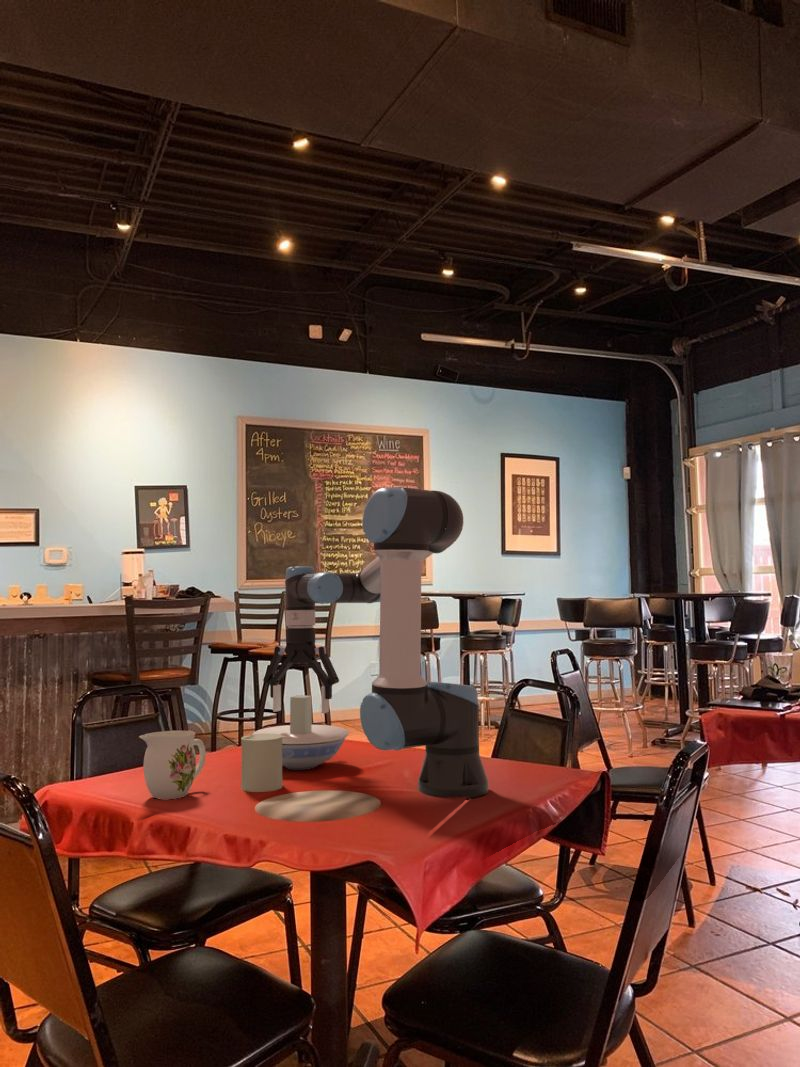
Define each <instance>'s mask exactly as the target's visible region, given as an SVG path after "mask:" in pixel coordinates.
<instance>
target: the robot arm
mask: <svg viewBox="0 0 800 1067" xmlns="http://www.w3.org/2000/svg"><path fill="white" fill-rule="evenodd" d="M361 522H362V532H363V533H364V537H365V539H367V540H368V541H369V542H371V543H373V553H374V554H375V555H376V556H377V557H375V559H373V560H372V561H371V562H370V563H368V564H367V565H366V566H364V567H363V568H362V569H361V570H360V571H358V572H355V573H354V572H350V573H349V572H343V573H342V572H341V573H340V572H329V571H320V572H317V573H316V570H315V568H314V567H313V566H304V565H303V566H289V567H288V568H286V570H285V579H284V580H285V582H284V584H285V585H284V586H285V591H284V592H285V626H286V627H287V628H286V629H285V644H286V645H285V646H282V645H279V646H277V645H276V646H275V647H274V651H273V656H272V659H271V661H270V663H269V665H268V668H267V670H266V673H265V674H264V676H263V679H262V681H263V683H266V684H268V685H269V686H270V689H269V690H270V694H269V696H270V698H272V712H276V713H277V712H279V711H281V710H282V684H279V682H280V681H281V680H282V679H283V677H284V676H285V674H286V673H287V672H288V671H289V669H290V668H291V666H293V665H308V666H309V667H310V668H311V669H312V671H313V672H314V673H315V675H316V676H317V677H318V678H319V680H320V681H321V683H322V684H323V686H321V688H320V689H321V690H320V691H321V714H327V713H329V712H330V700H331V699H332V697H333V686H334V685H336V684H338V683H340V679H339V676H338V674H337V672H336V670H335V667H334V665H333V663H332V661H331V659H330V657H329V653H328V647H327V646H326V645H322V646H321V645H320V646H319V647H316V629H315V628H314V626H316V604H321V605H325V604H327V605H328V604H356V603H357V604H372V603H373V604H374V603H379V663H378V664H379V665H378V667H379V668H378V669H379V670H378V671H379V672H378V676H377V677H376V678H375V679H374V680H373V681H372V682H371V692H370V693H368V694H366V695H365V696H364V697H363V698H362V702H361V703H360V705H359V706H360V708H359V718H360V724H361V727H362V730H363V733H364V735H365V736H366V738H367V740H368V742H369V743H370V744H371V745H372V746H373V747H374V748H375V749H378V750H380V751H397V752H398V751H401V750H403V749H410V748H418V747H424V746H425V754H424V755H425V757H424V759H423V763H422V767H421V770H420V773H419V776H418V781H417V790H418V792H420V793H421V794H424V795H427V796H432V797H441V798H467V799H472V798H473V799H474V798H478V797H481V796H484V795H487V794H488V793H489V780H488V776H487V774H486V770H485V767H484V764H483V762H482V758H481V755H480V732H479V731H480V729H479V728H480V726H479V724H480V723H479V720H480V718H479V708H480V704H479V698H478V691H477V689H476V688H475V686H473V685H470V684H469V685H468V684H461V683H459V684H458V683H452V682H450V683H449V682H440V681H439V682H437V681H427V680H425V679H424V677H422V675H421V662H422V661H421V658H422V656H421V655H422V654H421V649H422V648H421V645H422V644H421V642H422V640H421V639H422V638H421V636H422V563H423V562H424V561H425V560H426V559H427V558H429V557H430V556H433V554H437V555H438V554H441V553H443V552H445V551H446V550H447V549H449V548H450V547H451V546H452V545H454V543H455V542H456V541H457V540H458V539H459V538H460V535H462V531H463V528H464V514H463V511H462V508H461V506H460V504H459V503H458V501H457V500H456V499H455V498H453V496H452V495H450V494H448V493H446V492H444V491H441V490H428V489H419V488H411V487H403V486H395V487H394V486H393V487H389V486H388V487H385V486H384V487H381V488H379V489H377V490H376V491H375V492H373V494H372V495H371V496H370V498H369V499H368V501H367V502H366V505H365V508H364V510H363V515H362V521H361ZM284 654H286V656H287V657H286V658H285V659H284V661H283V663H282V665H281V666H280V667H279V665H280V663H281V661H282V658H283V656H284ZM316 654H317V655H318V656H319V659H320V661H321V663H322V665H320V663H319V661H318V659H317V658H316ZM322 666H323V667H322ZM278 667H279V668H278ZM323 668H324V669H325V670H324V669H323Z"/></svg>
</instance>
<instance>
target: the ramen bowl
mask: <svg viewBox="0 0 800 1067" xmlns="http://www.w3.org/2000/svg"><path fill="white" fill-rule="evenodd" d="M346 738H347V737H345V738H343V739H340V740H336V741H330V742H324V743H313V744H282V767H285V768H286V769H288V770H290V771H291V770H292V771H293V770H294V771H296V770H297V771H303V770H305V769H306V770H312V769H314V767H315V768H316V767H317V766H318V765H321V764H324V763H325V762H327V761H330V760H331V759H333V757H334V756H335V755H337V753H338V752H339V751H340V749H341V747H342V745H344V743H345V739H346ZM311 768H312V769H311Z"/></svg>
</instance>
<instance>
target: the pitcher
mask: <svg viewBox="0 0 800 1067" xmlns="http://www.w3.org/2000/svg"><path fill="white" fill-rule="evenodd" d="M195 736H196V732H194V731H192V730H164V731H155V732H150V733H145V734H141V735H139V736H138V738H139V739H142V740H143V741H144V742H145V743H146V746H147V747H146V749H145V753H144V757H143V765H142V766H143V777H144V781H145V784H146V787H147V790H148V792H149V793H150V795H151V796H152V797H153V799H154V798H159V799H174V798H179V799H181V798H180V797H183V798H185V797H186V795H187V794H188V793H189V791H190V789H191V788H192V785H193V782H194V781H195V780H194V779H195V778H196V777H198V776H199V775H200V773H201V772H202V770H203V768H204V766H205V764H206V758H207V755H206V746H205V744H204V742H203V741H202V739H199V738H195ZM194 746H197V747H198V750H199V760H198V763H197V754H196V751H195V747H194ZM184 796H185V797H184ZM174 800H175V799H174Z"/></svg>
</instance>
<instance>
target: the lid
mask: <svg viewBox="0 0 800 1067" xmlns="http://www.w3.org/2000/svg"><path fill="white" fill-rule="evenodd" d="M312 698H313V695H306V694H305V695H304V694H303V695H301V694H300V695H298V694H297V695H294V696H290V699H289V700H290V702H289V703H290V704H289V705H290V707H289V708H290V709H289V712H290V713H289V718H290V720H289V722H290V723H289V725H287V724H286V725H277V726H270V727H265V728H261V729H258V730H256V731H254V732H252V735H254V734H278V735H282V736H283V738H282V744H313V743H324V742H330V741H336V740H340V739H343V738H345V737H346V738H347V737H348V736H349V735H350V732H349V730H348V729H346V728H344V727H340V726H335V725H328V724H313V723H312V722H313V720H312V719H313V718H312V717H313V715H312V714H313V713H312V712H313V711H312V708H313V706H312V704H313V703H312V702H313V700H312ZM346 738H345V739H346Z"/></svg>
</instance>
